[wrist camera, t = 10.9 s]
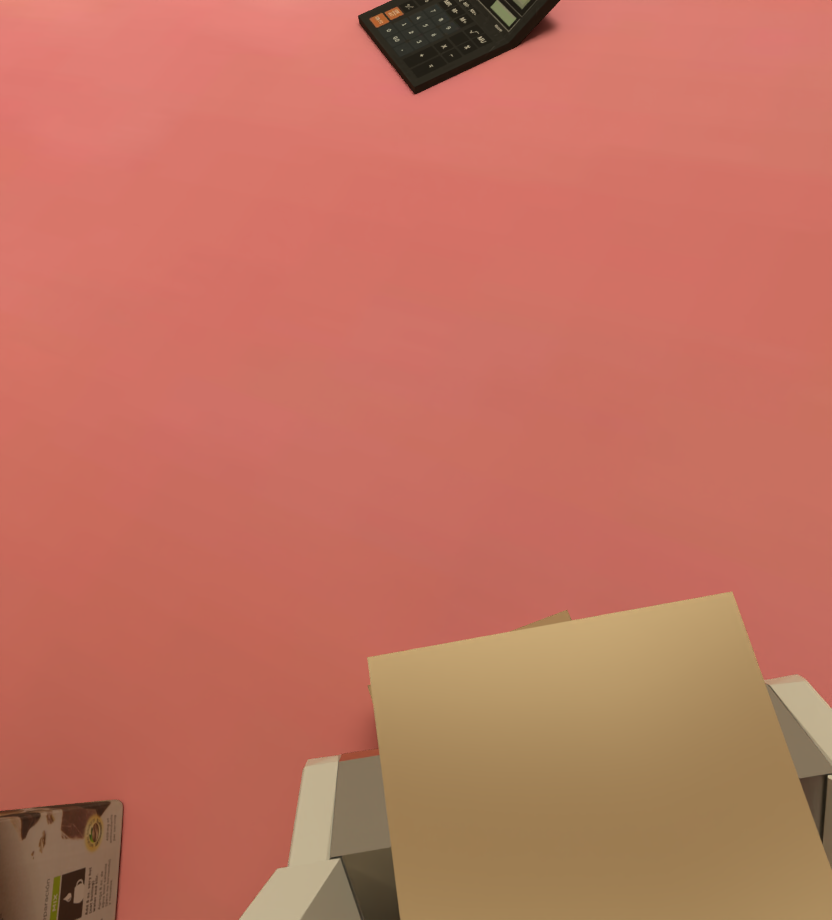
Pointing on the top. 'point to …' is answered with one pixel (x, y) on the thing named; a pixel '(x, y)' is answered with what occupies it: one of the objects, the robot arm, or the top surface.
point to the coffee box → (60, 861)
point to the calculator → (448, 34)
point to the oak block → (595, 775)
